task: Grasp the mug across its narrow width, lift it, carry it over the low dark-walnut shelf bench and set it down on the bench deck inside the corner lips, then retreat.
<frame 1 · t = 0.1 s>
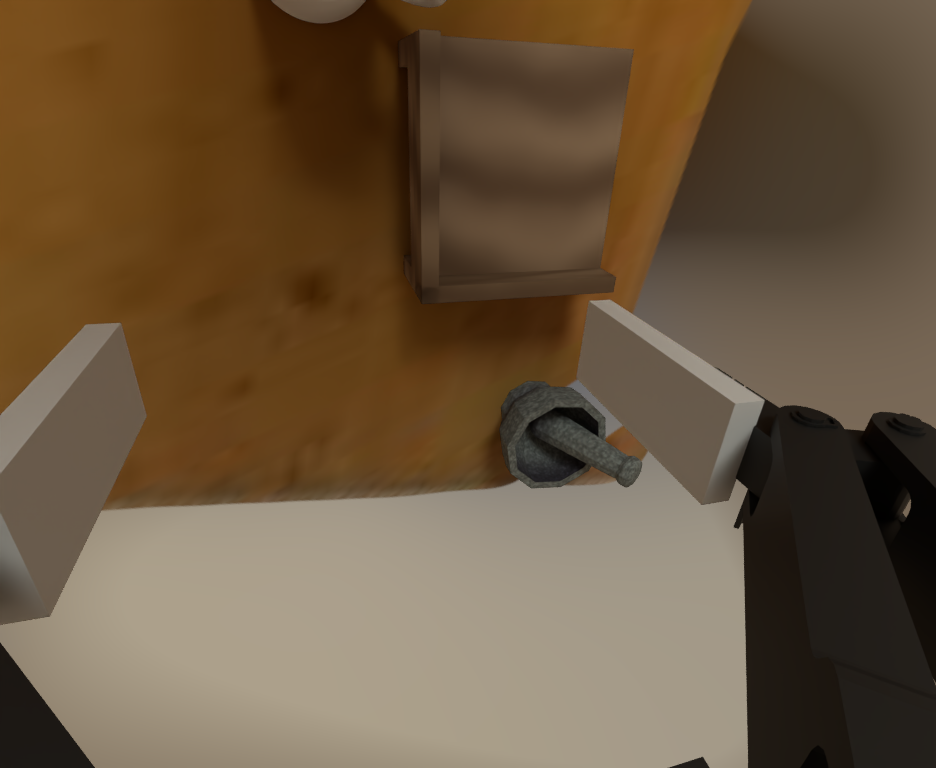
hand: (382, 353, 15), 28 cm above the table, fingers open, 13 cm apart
shelf: (496, 169, 41), on the table
mortar and pestle: (535, 406, 53), on the table
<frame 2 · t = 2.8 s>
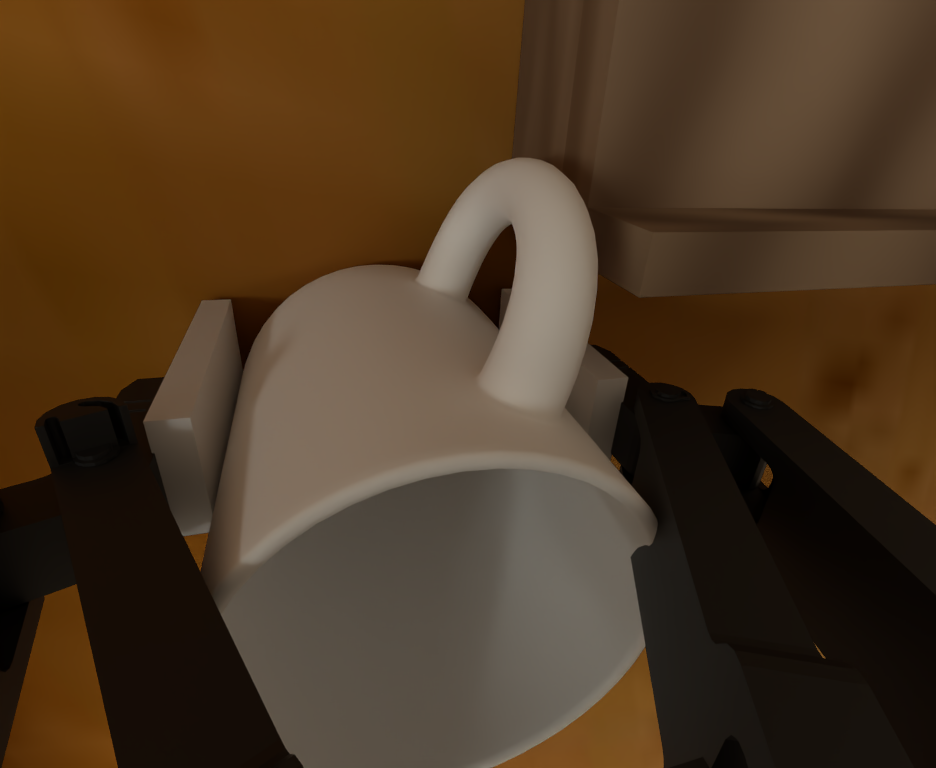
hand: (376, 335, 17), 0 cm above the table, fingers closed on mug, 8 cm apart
mug: (397, 328, 17), on the table, touching gripper
when the fingers open (7 cm above the table, at t = 7.5 s): mug drops 2 cm, resting on shelf.
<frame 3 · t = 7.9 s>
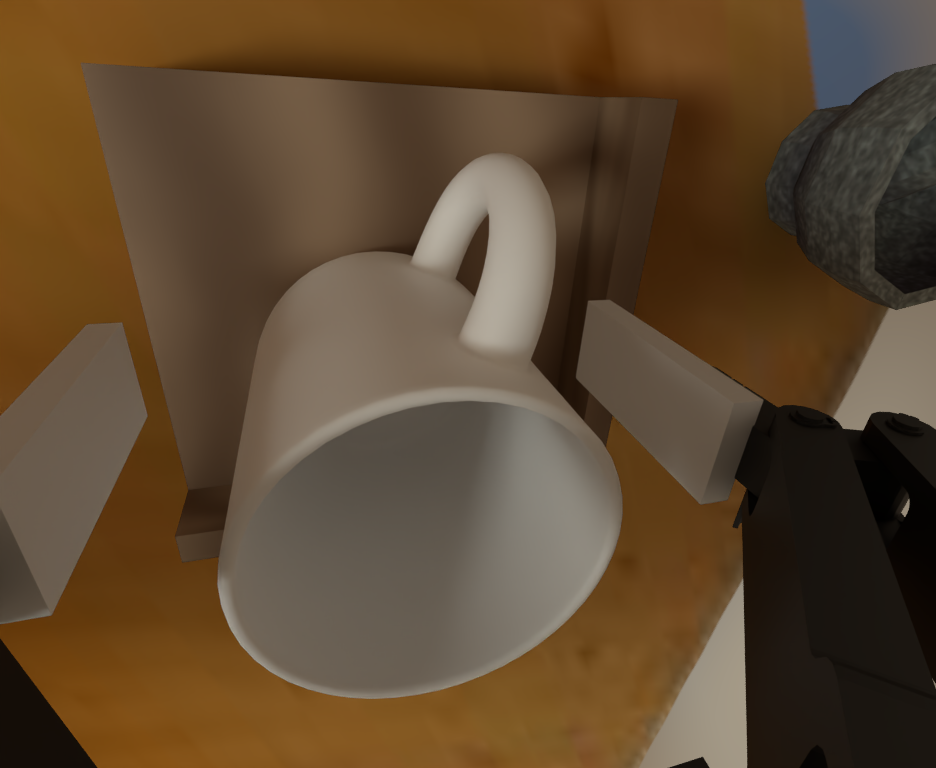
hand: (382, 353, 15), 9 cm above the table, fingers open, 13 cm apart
shelf: (379, 281, 23), on the table
mug: (394, 309, 19), point 5 cm above the table, touching shelf
mortar and pestle: (820, 157, 27), on the table
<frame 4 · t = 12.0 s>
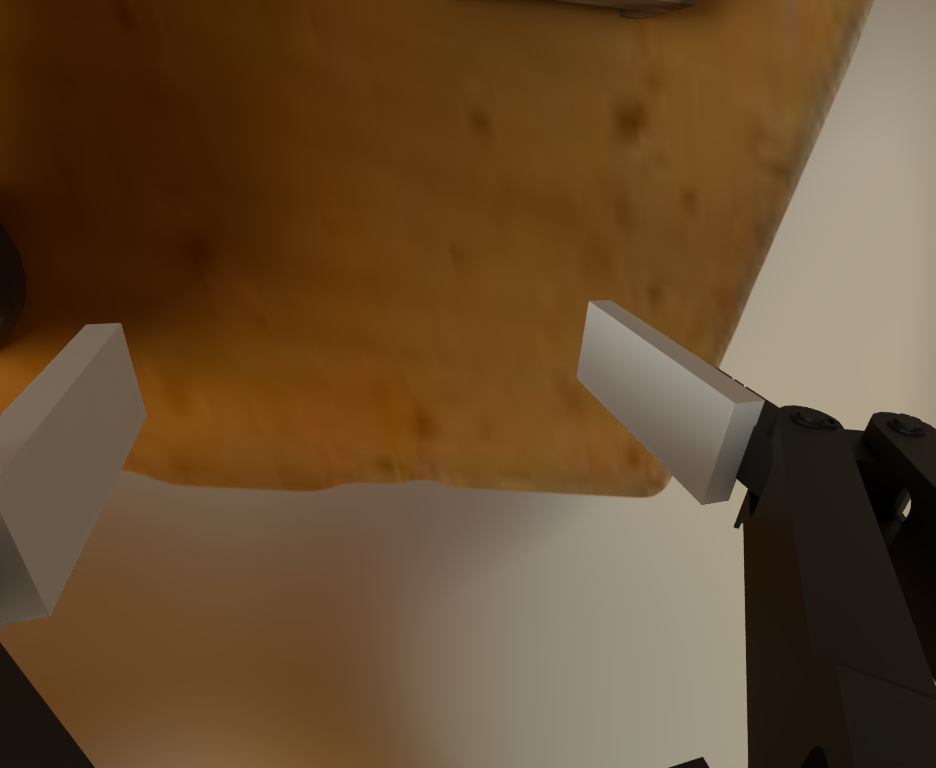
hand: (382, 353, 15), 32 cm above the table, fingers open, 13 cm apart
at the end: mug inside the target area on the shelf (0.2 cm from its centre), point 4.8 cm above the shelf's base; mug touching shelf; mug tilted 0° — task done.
